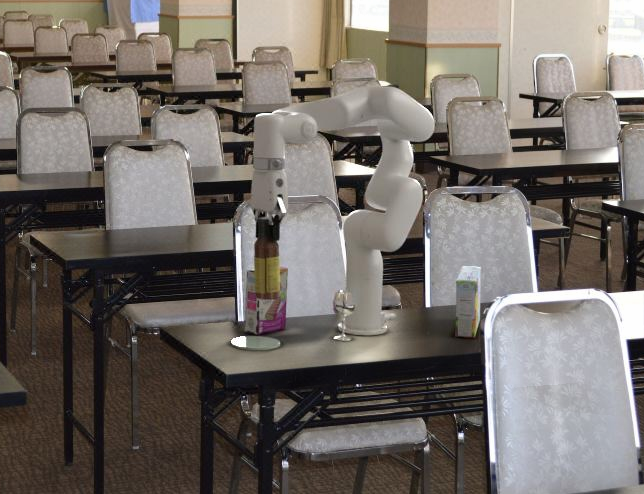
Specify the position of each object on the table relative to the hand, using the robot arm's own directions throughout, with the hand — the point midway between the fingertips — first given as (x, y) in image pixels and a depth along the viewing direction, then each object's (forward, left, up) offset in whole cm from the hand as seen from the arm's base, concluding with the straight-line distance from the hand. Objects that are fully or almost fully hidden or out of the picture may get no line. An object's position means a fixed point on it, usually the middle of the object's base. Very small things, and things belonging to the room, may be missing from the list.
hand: (267, 238), depth 301 cm
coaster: (+1, -3, -27) cm, 27 cm away
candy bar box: (-9, -14, -27) cm, 32 cm away
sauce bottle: (0, 0, -15) cm, 15 cm away
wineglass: (-22, +2, -27) cm, 35 cm away
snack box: (-58, +8, -27) cm, 65 cm away
